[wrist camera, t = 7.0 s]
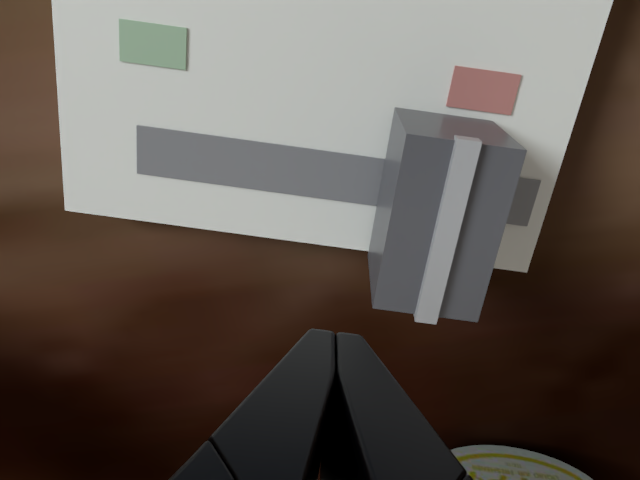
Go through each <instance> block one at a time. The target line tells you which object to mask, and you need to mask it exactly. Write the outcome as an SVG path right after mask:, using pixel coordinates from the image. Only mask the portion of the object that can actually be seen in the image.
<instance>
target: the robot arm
mask: <svg viewBox="0 0 640 480" xmlns="http://www.w3.org/2000/svg"><path fill="white" fill-rule="evenodd" d="M320 462H321V465H320ZM319 468H320V480H473V478H472V477H471V476H470V475H467V471H466V470H465V468H464V467H463V466H462V465H461V463H460V462H459V461H458V459H457V458H456V457H455V456H454V454H453V453H452V452H451V450H450V449H449V448H448V447H447V445H446V444H445V443H444V441H443V440H442V439H441V438H440V436H439V435H438V434H437V432H436V431H435V430H434V429H433V427H432V426H431V425H430V423H429V422H428V421H427V420H426V418H425V417H424V416H423V414H422V413H421V412H420V411H419V409H418V408H417V407H416V405H415V404H414V403H413V401H412V400H411V399H410V398H409V396H408V395H407V394H406V392H405V391H404V390H403V389H402V387H401V386H400V385H399V383H398V382H397V381H396V380H395V378H394V377H393V376H392V374H391V373H390V372H389V371H388V369H387V368H386V367H385V365H384V364H383V363H382V362H381V360H380V359H379V358H378V356H377V355H376V354H375V353H374V351H373V350H372V349H371V347H370V346H369V345H368V343H367V342H366V341H365V340H364V338H363V337H362V336H360V335H357V334H349V333H341V332H340V333H337V334H336V335H335V334H334V333H333V332H332V331H326V330H319V329H310V330H309V331H307V333H306V334H305V335H304V336H303V337H302V338H301V339H300V340H299V341H298V342H297V343H296V344H295V345H294V347H293V348H292V349H291V350H290V351H289V352H288V353H287V354H286V355H285V356H284V357H283V358H282V360H281V361H280V362H279V363H278V364H277V365H276V366H275V367H274V368H273V369H272V370H271V371H270V372H269V374H268V375H267V376H266V377H265V378H264V379H263V380H262V381H261V382H260V383H259V384H258V385H257V386H256V388H255V389H254V390H253V391H252V392H251V393H250V394H249V395H248V396H247V397H246V398H245V399H244V401H243V402H242V403H241V404H240V405H239V406H238V407H237V408H236V409H235V410H234V411H233V412H232V413H231V415H230V416H229V417H228V418H227V419H226V420H225V421H224V422H223V423H222V424H221V425H220V426H219V427H218V429H217V430H216V431H215V432H214V433H213V434H212V435H211V436H210V437H209V439H208V441H205V442H204V443H203V444H202V445H201V447H200V448H199V449H198V450H197V451H196V452H195V453H194V454H193V455H192V456H191V457H190V458H189V459H188V460H187V461H186V462H185V463H184V464H183V465H182V466H181V467H180V468H179V469H178V470H177V471H176V472H175V473H174V474H173V475H172V476H171V477H170V478H169V479H168V480H317V479H318V473H319Z"/></svg>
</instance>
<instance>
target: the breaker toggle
mask: <svg viewBox="0 0 640 480" xmlns="http://www.w3.org/2000/svg"><path fill="white" fill-rule="evenodd" d="M526 153H527V150H526V149H525V148H524V147H523V146H522V145H520V144H519V143H518V142H517V141H516V140H514V139H513V138H512V137H511V136H510V135H509V134H507V133H506V132H505V131H504V130H503V129H502V128H500V127H499V126H498V125H497V124H496V123H495V122H493V121H491V120H484V119H477V118H469V117H462V116H455V115H448V114H440V113H433V112H426V111H419V110H412V109H404V108H397V107H395V108H394V114H393V119H392V125H391V130H390V136H389V141H388V147H387V152H386V158H385V163H384V169H383V174H382V180H381V185H380V191H379V196H378V202H377V207H376V212H375V218H374V223H373V229H372V234H371V240H370V245H369V251H368V263H369V274H370V286H371V297H372V308H374V309H382V310H389V311H397V312H404V313H412V314H413V315H414V319H415V322H421V323H429V324H437V320H438V317H442V318H449V319H457V320H464V321H472V322H478V319H479V316H480V312H481V309H482V306H483V302H484V299H485V295H486V292H487V288H488V285H489V281H490V278H491V274H492V271H493V267H494V264H495V260H496V257H497V253H498V250H499V247H500V243H501V240H502V236H503V233H504V229H505V226H506V222H507V219H508V215H509V212H510V208H511V205H512V201H513V198H514V195H515V191H516V188H517V184H518V181H519V177H520V174H521V170H522V167H523V163H524V160H525V156H526Z"/></svg>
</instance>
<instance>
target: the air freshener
mask: <svg viewBox="0 0 640 480" xmlns="http://www.w3.org/2000/svg"><path fill="white" fill-rule="evenodd" d="M451 452H452V453H453V454H454V456H455V457H456V458H457V459H458V461H459V462H460V463H461V465H462V466H463V467H464V468H465V470H466V471H467V475H470V476H471V477H472V478H473V480H593V479H592V478H590V477H589V476H588V475H586V474H584V473H583V472H581V471H579V470H578V469H576V468H574V467H572V466H570V465H568V464H566V463H564V462H562V461H560V460H557V459H554V458H552V457H549V456H546V455H543V454H540V453H537V452H533V451H528V450H524V449H520V448H514V447H508V446H497V445H472V446H466V447H460V448H455V449H452V450H451Z"/></svg>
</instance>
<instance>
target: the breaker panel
mask: <svg viewBox="0 0 640 480" xmlns="http://www.w3.org/2000/svg"><path fill="white" fill-rule="evenodd" d="M612 3H613V0H52V15H53V31H54V46H55V62H56V78H57V94H58V110H59V125H60V141H61V157H62V173H63V188H64V204H65V211H72V212H80V213H87V214H95V215H102V216H109V217H117V218H124V219H132V220H139V221H147V222H154V223H162V224H169V225H176V226H184V227H191V228H199V229H206V230H214V231H221V232H228V233H236V234H243V235H251V236H258V237H266V238H273V239H281V240H288V241H295V242H303V243H310V244H318V245H325V246H333V247H340V248H348V249H355V250H362V251H369V245H370V240H371V234H372V229H373V223H374V218H375V212H376V207H377V202H378V196H379V191H380V185H381V180H382V174H383V169H384V163H385V158H386V152H387V147H388V141H389V136H390V130H391V125H392V119H393V114H394V108H395V107H397V108H404V109H412V110H419V111H426V112H433V113H440V114H448V115H455V116H462V117H469V118H477V119H484V120H491V121H493V122H495V123H496V124H497V125H498V126H499V127H500V128H502V129H503V130H504V131H505V132H506V133H507V134H509V135H510V136H511V137H512V138H513V139H514V140H516V141H517V142H518V143H519V144H520V145H522V146H523V147H524V148H525V149H526V150H527V153H526V156H525V160H524V163H523V167H522V170H521V174H520V177H519V181H518V184H517V188H516V191H515V195H514V198H513V201H512V205H511V208H510V212H509V215H508V219H507V222H506V226H505V229H504V233H503V236H502V240H501V243H500V247H499V250H498V253H497V257H496V260H495V264H494V267H493V268H496V269H504V270H511V271H519V272H526V273H527V271H528V268H529V265H530V262H531V259H532V255H533V252H534V249H535V246H536V243H537V240H538V236H539V233H540V230H541V227H542V224H543V221H544V218H545V214H546V211H547V208H548V205H549V202H550V199H551V195H552V192H553V189H554V186H555V183H556V180H557V177H558V173H559V170H560V167H561V164H562V161H563V158H564V155H565V151H566V148H567V145H568V142H569V139H570V136H571V132H572V129H573V126H574V123H575V120H576V117H577V114H578V110H579V107H580V104H581V101H582V98H583V95H584V91H585V88H586V85H587V82H588V79H589V76H590V73H591V69H592V66H593V63H594V60H595V57H596V54H597V51H598V47H599V44H600V41H601V38H602V35H603V32H604V28H605V25H606V22H607V19H608V16H609V13H610V10H611V6H612Z"/></svg>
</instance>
